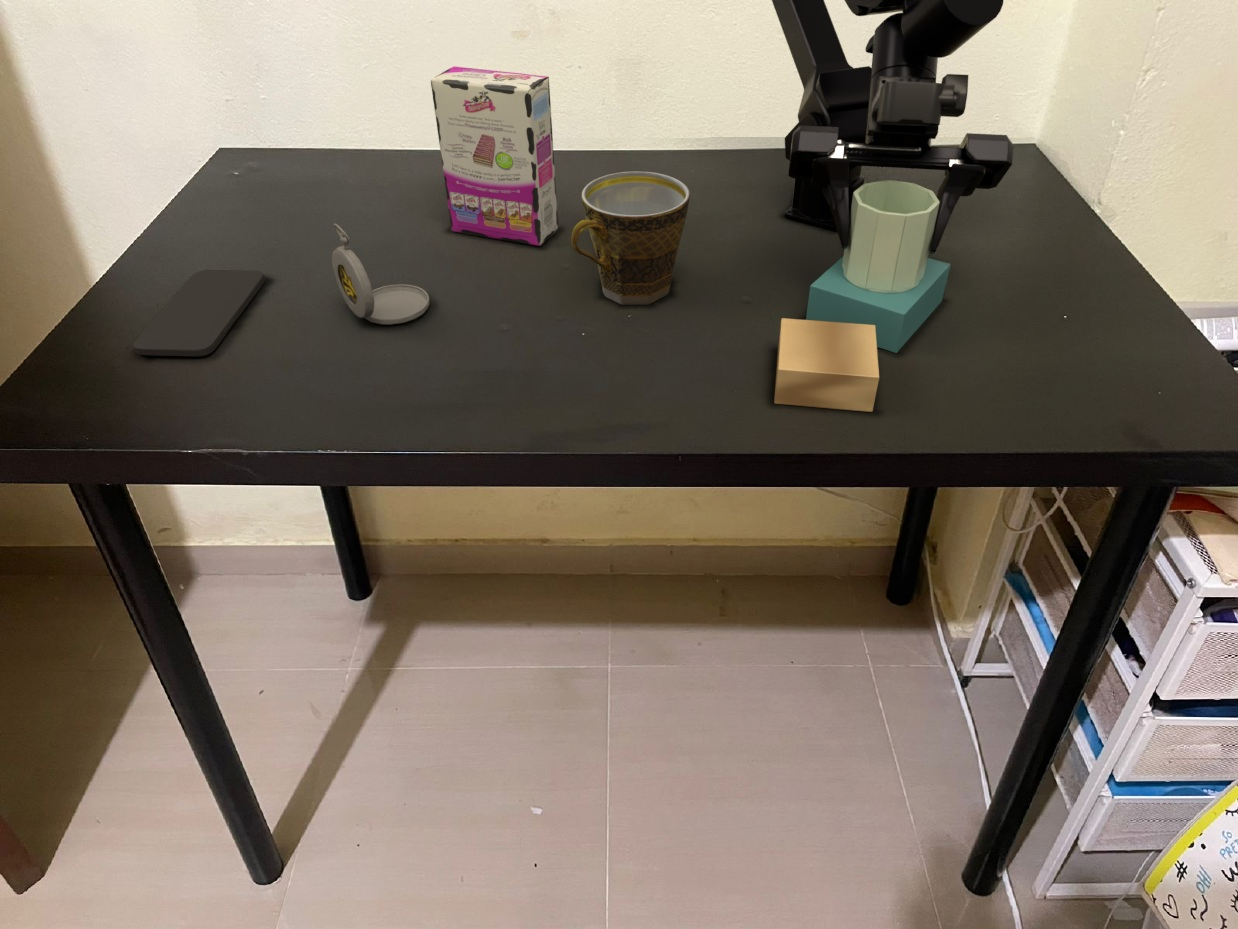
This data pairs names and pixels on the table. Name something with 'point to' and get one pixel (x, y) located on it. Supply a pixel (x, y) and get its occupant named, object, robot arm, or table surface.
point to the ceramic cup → (634, 233)
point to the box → (878, 303)
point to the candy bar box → (497, 153)
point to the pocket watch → (380, 303)
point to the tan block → (827, 365)
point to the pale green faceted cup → (889, 235)
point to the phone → (200, 313)
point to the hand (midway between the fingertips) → (888, 250)
